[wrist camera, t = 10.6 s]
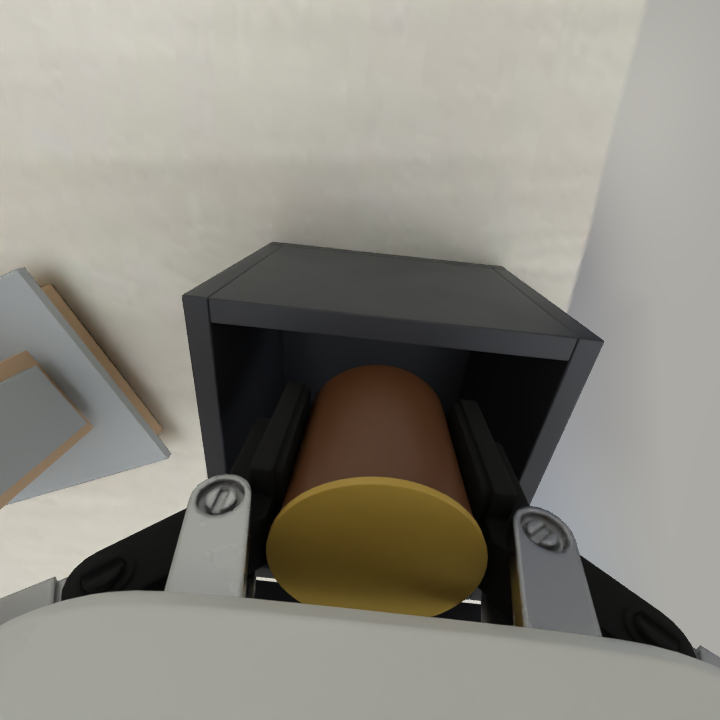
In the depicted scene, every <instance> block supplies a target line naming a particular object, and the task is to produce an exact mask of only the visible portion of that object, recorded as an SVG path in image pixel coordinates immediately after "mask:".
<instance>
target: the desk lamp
mask: <svg viewBox="0 0 720 720" xmlns="http://www.w3.org/2000/svg"><path fill="white" fill-rule="evenodd" d="M162 430H163V428H162V427H161V426H160V425H159V423H158V422H157V421H156V419H155V418H154V417H153V416H152V414H151V413H150V412H149V410H148V409H147V408H146V406H145V405H144V404H143V403H142V401H141V400H140V399H139V397H138V396H137V395H136V393H135V392H134V391H133V390H132V388H131V387H130V386H129V384H128V383H127V382H126V381H125V379H124V378H123V377H122V375H121V374H120V373H119V371H118V370H117V369H116V368H115V366H114V365H113V364H112V362H111V361H110V360H109V359H108V357H107V356H106V355H105V353H104V352H103V351H102V349H101V348H100V347H99V346H98V344H97V343H96V342H95V340H94V339H93V338H92V336H91V335H90V334H89V333H88V331H87V330H86V329H85V327H84V326H83V325H82V324H81V322H80V321H79V320H78V318H77V317H76V316H75V314H74V313H73V312H72V311H71V309H70V308H69V307H68V305H67V304H66V303H65V302H64V300H63V299H62V298H61V296H60V295H59V294H58V292H57V291H56V290H55V289H54V287H53V286H52V285H51V284H49V285H46V286H43V287H39V285H38V284H37V283H36V281H35V280H34V279H33V278H32V276H31V275H30V274H29V273H28V271H27V270H26V269H25V267H23V268H19V269H16V270H14V271H11V272H9V273H7V274H5V275H3V276H1V277H0V509H1V508H3V507H4V506H5V505H8V504H12V503H15V502H19V501H22V500H26V499H29V498H32V497H36V496H39V495H43V494H46V493H50V492H53V491H57V490H60V489H64V488H67V487H71V486H74V485H78V484H81V483H85V482H88V481H92V480H95V479H99V478H102V477H106V476H109V475H113V474H116V473H120V472H123V471H127V470H130V469H134V468H137V467H141V466H144V465H147V464H151V463H154V462H158V461H161V460H165V459H168V458H169V456H170V455H171V453H170V451H169V450H168V449H167V447H166V446H165V445H164V444H163V442H162V441H161V440H160V439H159V437H158V436H157V435H158V434H159V433H160V432H161V431H162Z"/></svg>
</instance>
